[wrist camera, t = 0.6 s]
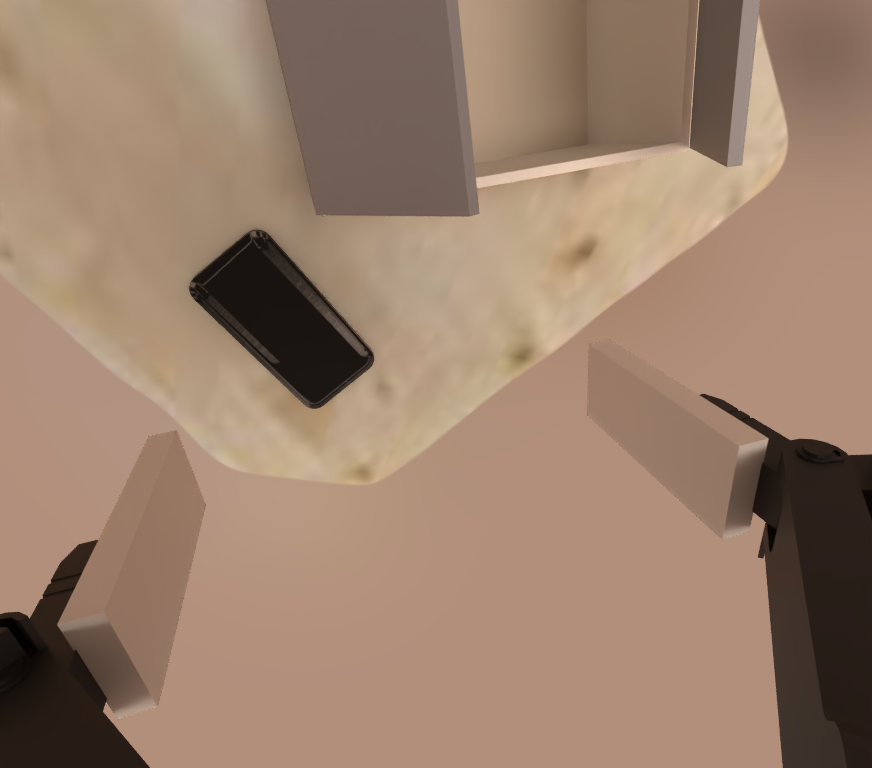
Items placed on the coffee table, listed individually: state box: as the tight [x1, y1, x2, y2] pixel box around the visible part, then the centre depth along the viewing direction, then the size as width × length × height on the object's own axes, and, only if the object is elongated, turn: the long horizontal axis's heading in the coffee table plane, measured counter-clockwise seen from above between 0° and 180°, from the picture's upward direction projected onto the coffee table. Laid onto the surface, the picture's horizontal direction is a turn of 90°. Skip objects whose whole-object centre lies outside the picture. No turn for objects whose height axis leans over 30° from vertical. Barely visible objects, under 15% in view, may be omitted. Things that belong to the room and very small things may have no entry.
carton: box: [322, 0, 698, 216], centre depth 34 cm, size 16×24×12 cm, turn 99°
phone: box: [189, 230, 374, 409], centre depth 44 cm, size 8×1×15 cm
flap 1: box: [266, 0, 479, 216], centre depth 22 cm, size 16×12×1 cm
